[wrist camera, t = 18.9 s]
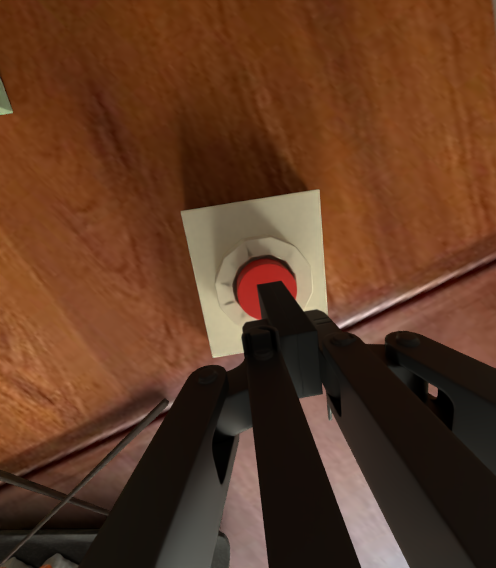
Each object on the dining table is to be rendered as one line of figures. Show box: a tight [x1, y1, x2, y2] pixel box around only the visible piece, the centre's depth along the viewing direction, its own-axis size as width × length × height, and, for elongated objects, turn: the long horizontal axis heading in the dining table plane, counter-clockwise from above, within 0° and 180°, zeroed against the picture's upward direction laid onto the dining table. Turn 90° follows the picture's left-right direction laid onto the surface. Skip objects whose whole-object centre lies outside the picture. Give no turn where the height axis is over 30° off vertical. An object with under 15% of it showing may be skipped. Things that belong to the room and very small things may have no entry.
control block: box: [181, 189, 328, 358], centre depth 21 cm, size 12×10×4 cm
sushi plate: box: [0, 399, 230, 568], centre depth 27 cm, size 29×30×4 cm
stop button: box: [237, 259, 297, 320], centre depth 18 cm, size 4×4×2 cm
